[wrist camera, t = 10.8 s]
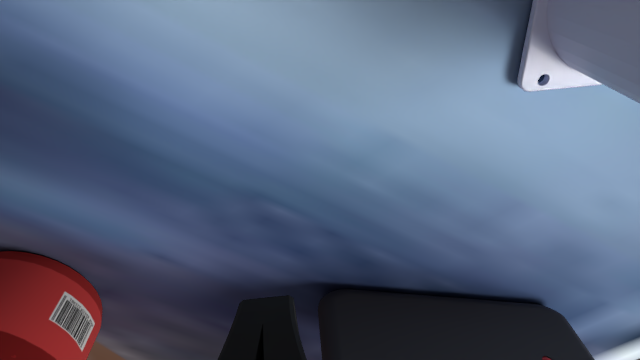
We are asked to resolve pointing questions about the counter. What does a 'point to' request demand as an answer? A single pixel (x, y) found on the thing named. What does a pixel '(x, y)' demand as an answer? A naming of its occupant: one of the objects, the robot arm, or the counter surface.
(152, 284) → the counter surface
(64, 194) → the counter surface
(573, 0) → the robot arm
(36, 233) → the counter surface
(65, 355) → the canned food
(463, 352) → the leaning round-cornered charcoal block
